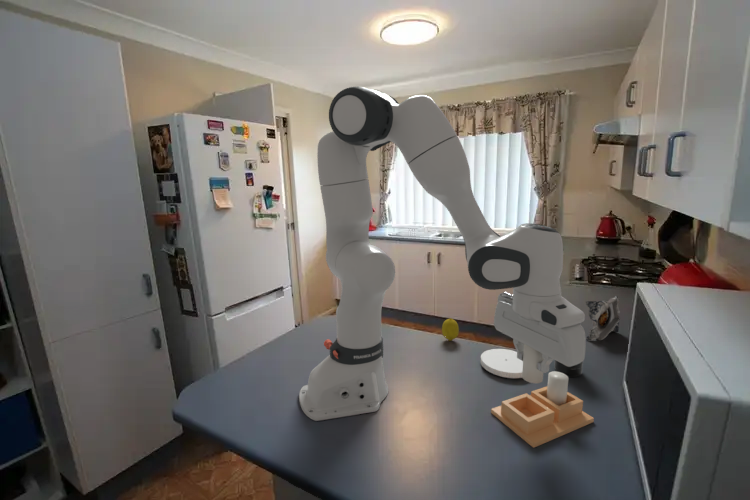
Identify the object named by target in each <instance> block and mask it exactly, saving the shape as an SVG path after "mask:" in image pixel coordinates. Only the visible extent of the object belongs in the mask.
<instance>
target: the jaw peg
mask: <svg viewBox="0 0 750 500" xmlns="http://www.w3.org/2000/svg"><path fill="white" fill-rule="evenodd" d="M544 359H545V358H542V353H541V352H539V351H537V350H535V349H533V348H531V347H529V346H528V345H526V344H524V351H523V371H522V379H523V380H524V381H526V382H527V383H530V384H541V383H543V380H544V373H542V372H541V371H539V370H538V369H537V367H538V366H537V363H538V362H541V361H543V360H544Z"/></svg>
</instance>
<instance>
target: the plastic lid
mask: <svg viewBox="0 0 750 500" xmlns="http://www.w3.org/2000/svg"><path fill="white" fill-rule="evenodd" d="M480 365H481V367H482V368H483V369H484V370H486V371H487V372H489V373H491V374H493V375H495V376H498V377H502V378H507V379H523V377H522V371H523V361H522V360H520V359H518V358H517V350H516V351H514V350H512V349H508V348H492V349H487V350H485V351H483V352H482V353H481V354H480Z"/></svg>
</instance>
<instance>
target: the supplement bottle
mask: <svg viewBox="0 0 750 500" xmlns="http://www.w3.org/2000/svg"><path fill="white" fill-rule="evenodd" d="M583 366H584V360H583V361H582V362H581V363H579V364H577V365H574V366H571V367H568V366H566V365H564V364H562V363H560V362H558V361H556V360H554V366H553V367H554V371H556V372H561V373H564V374H565V375H567V376H568V377H572V378H574V377H579V376H581V375H582V374H583Z"/></svg>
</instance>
